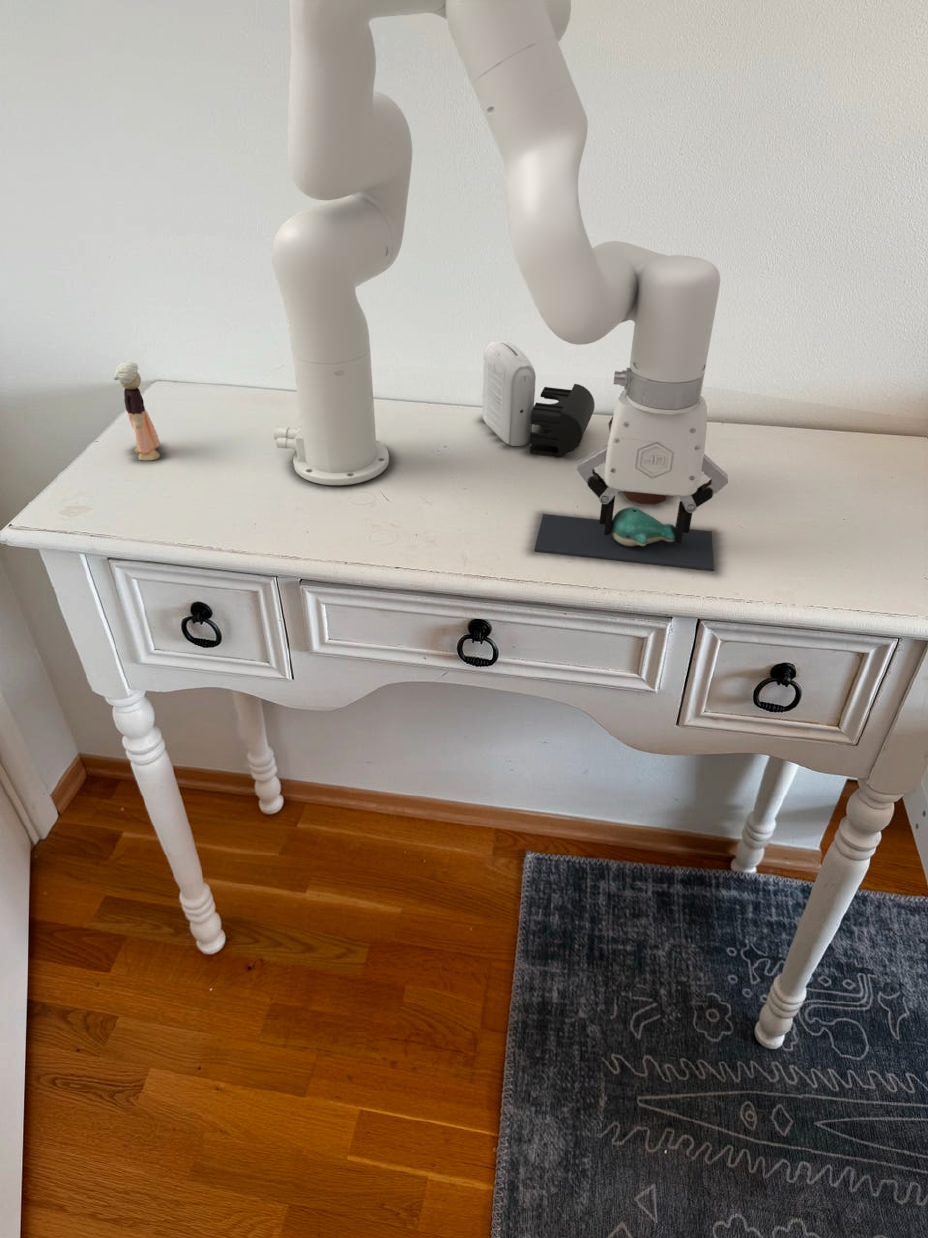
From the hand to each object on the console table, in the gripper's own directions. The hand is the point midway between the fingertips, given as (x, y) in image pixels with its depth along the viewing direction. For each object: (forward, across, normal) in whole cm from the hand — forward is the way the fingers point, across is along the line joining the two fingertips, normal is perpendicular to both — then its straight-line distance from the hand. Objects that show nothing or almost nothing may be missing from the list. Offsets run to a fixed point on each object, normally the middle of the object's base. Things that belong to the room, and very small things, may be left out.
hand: (642, 531), depth 102 cm
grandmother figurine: (+2, -67, +10) cm, 68 cm away
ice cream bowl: (+2, 0, +12) cm, 12 cm away
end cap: (+2, -12, +24) cm, 27 cm away
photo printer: (+2, -20, +26) cm, 33 cm away
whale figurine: (+1, 0, 0) cm, 1 cm away
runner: (+2, -2, 0) cm, 3 cm away
